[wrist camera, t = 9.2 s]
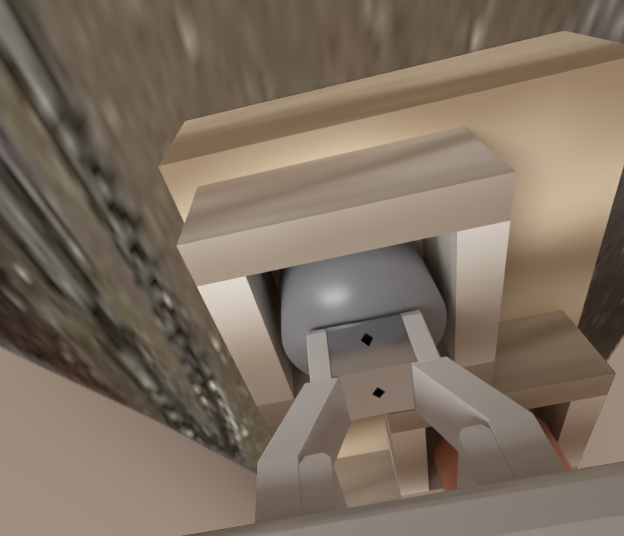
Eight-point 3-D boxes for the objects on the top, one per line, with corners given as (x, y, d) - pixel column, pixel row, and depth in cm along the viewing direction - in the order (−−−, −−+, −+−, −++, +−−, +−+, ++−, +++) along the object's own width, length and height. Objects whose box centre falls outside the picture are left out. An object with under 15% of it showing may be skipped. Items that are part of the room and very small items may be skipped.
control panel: (185, 121, 14) (124, 222, 8) (563, 30, 13) (777, 76, 8) (320, 465, 29) (331, 583, 23) (501, 432, 28) (557, 548, 22)
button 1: (264, 223, 12) (261, 287, 9) (411, 191, 12) (447, 249, 9) (297, 325, 14) (301, 396, 12) (418, 301, 14) (447, 368, 12)
